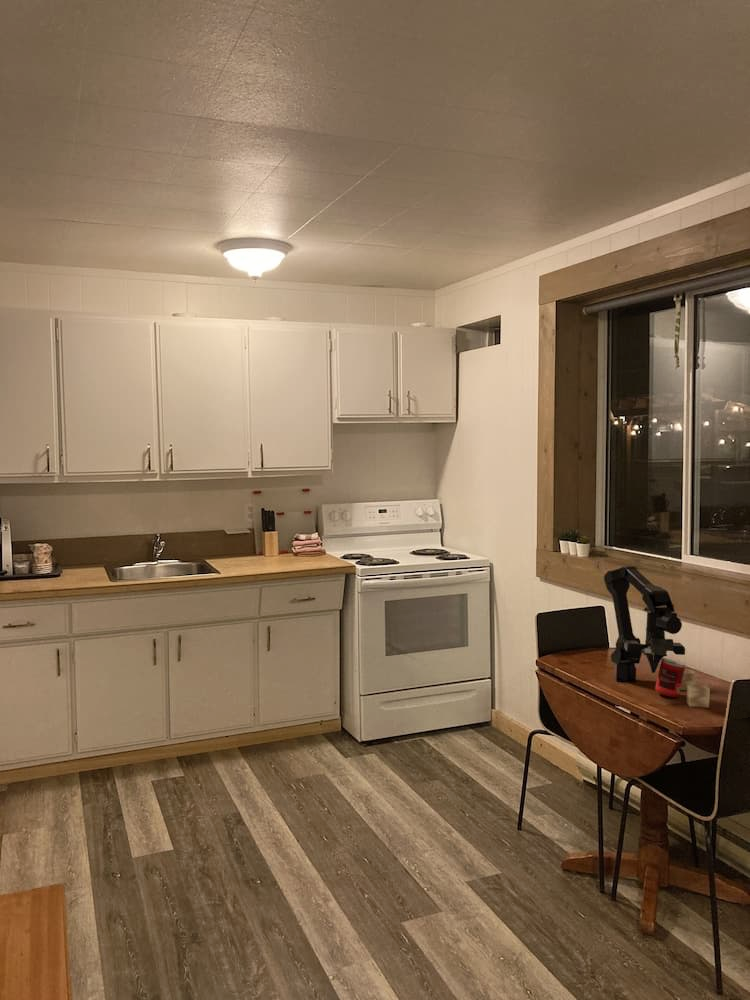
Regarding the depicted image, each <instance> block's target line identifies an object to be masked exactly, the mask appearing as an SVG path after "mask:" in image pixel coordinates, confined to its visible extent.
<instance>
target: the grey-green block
mask: <svg viewBox="0 0 750 1000" xmlns="http://www.w3.org/2000/svg"><path fill="white" fill-rule="evenodd" d="M696 678H697V674H696V672H695V671H694V670H692V669H685V670H684V674H683V678H682V683H681V687H680V691H687V685H696Z"/></svg>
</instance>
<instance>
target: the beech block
mask: <svg viewBox="0 0 750 1000" xmlns="http://www.w3.org/2000/svg"><path fill="white" fill-rule="evenodd" d="M710 693H711V688H710V687H709V686H708V685H704V684H703V685H701V684H695V685H687V690H686V704H687V705H688V707H695V708H710V697H711V696H710Z"/></svg>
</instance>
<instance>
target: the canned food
mask: <svg viewBox="0 0 750 1000" xmlns="http://www.w3.org/2000/svg"><path fill="white" fill-rule="evenodd" d="M659 664H660V665H659V669H658V675H657V677H656V678H657V679H656V683H655V691H656V693H658V694H661V695H662V696H666V697H670V698H677V697H678V696H679V694H680V691H681V690H680V687H681V683H682V678H683V674H684V670H686V664H685V663H683V662H682V661H679V660H675V659H673V658H665V657H663V658H662V659H661V660H660V663H659Z"/></svg>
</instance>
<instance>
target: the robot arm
mask: <svg viewBox="0 0 750 1000" xmlns="http://www.w3.org/2000/svg"><path fill="white" fill-rule="evenodd" d="M603 580H604V583H605V587H606V590H607V592H609V594H610V595H611V596H612V602H613V608H614V614H615V620H616V626H617V632H618V637H617V640H616V642H615V649H614V651H613V652H612V653H611V655H610V661H611V663H613V664H614V665H615V668H614V669H615V670H614V675H613V677H614V680H615V681H616V682H620V681H624V683H636V679H637V668H636V664H640V661H641V658H642V655H644V656H646V658H647V661H648V664H649V669H650V671H651V673H652V674H654V673H656V672H657V671H656V670H657V669H658V666H659V664H660V663H661V660H662V659H663V658H665V657H667V656H668V654H667V652H672V653H674V654H675V655H678V656H679V655H680V656H684V655H686V648H685V646H684V645H683V644H682V643H681V642H674V639H671V638H666V636H665V635H666V633H668V634H672V635H676V634H678V633H679V632H681V629H682V627H683V624H682V620H681V619H680V617H678V615H677V614H678V613H677V612H675V606H674V604H673V602H672V599H671V597H670V596H671V595H670V594H669V592H668V591H667V590H666V589H665V588H663V587H661V586H657V585H655V584H653V582H651V581H650V580H648V579H647V578H646V577H645V576H644V575H643V574H642V573H641V572H640V571H639V570H638V568H637V567H636V566H634V565H631V566H630V565H626V566H624V565H623V566H622V567H620V568H616V569H614V570H607V572H606V573H605V574H604V576H603ZM630 585H632V587H634V588H635V589H636V590H637V591H638V592H639V593H640V594H641V596H642V597H641V599H642V602H644V604H645V607H644V608H643V611H644V612H646V628H645V643H641V639H640V637H636V636H635V635H634V630H633V625H632V619H631V614H630V607H629V602H628V600H629V599H628V593H629V592H628V591H629V589H630ZM665 632H666V633H665Z"/></svg>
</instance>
